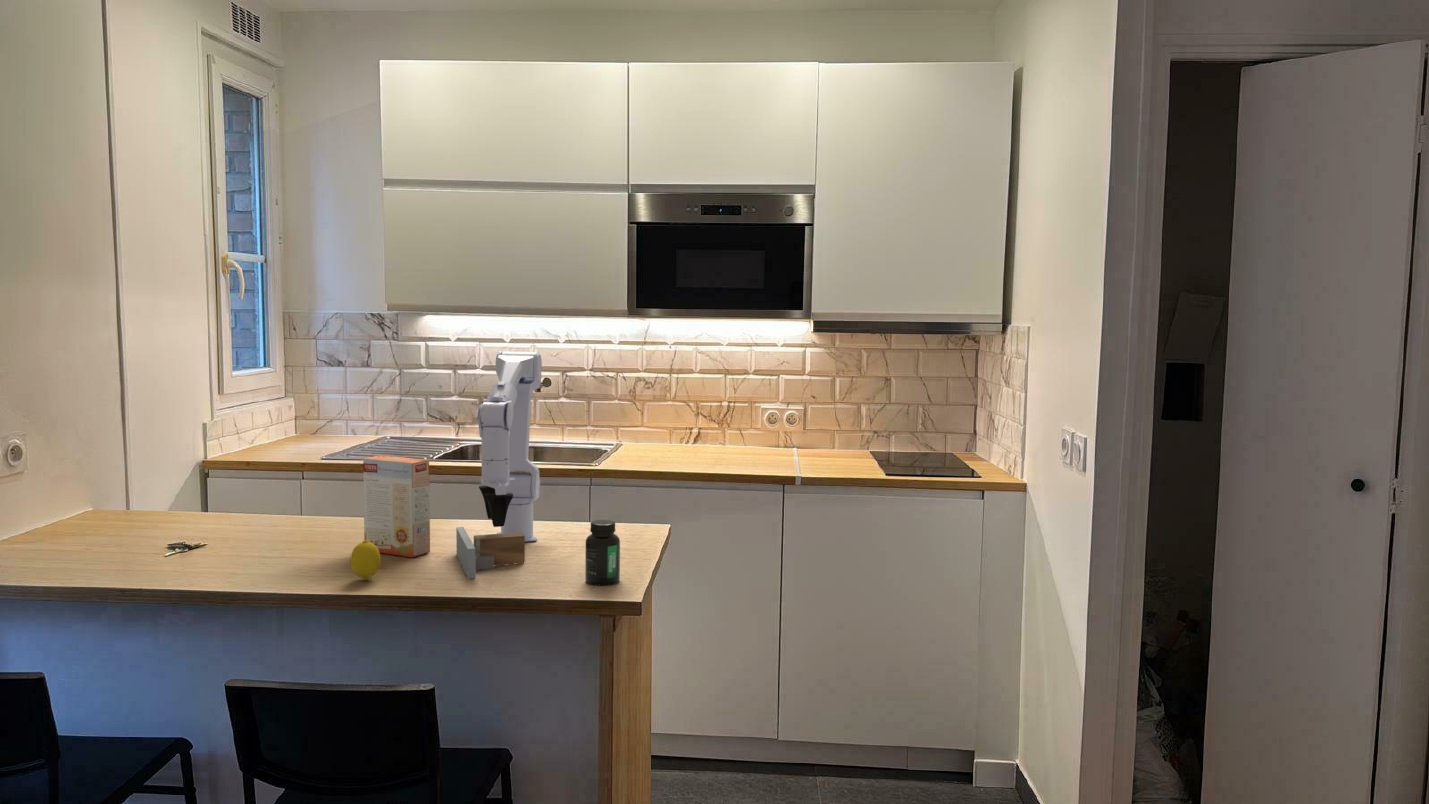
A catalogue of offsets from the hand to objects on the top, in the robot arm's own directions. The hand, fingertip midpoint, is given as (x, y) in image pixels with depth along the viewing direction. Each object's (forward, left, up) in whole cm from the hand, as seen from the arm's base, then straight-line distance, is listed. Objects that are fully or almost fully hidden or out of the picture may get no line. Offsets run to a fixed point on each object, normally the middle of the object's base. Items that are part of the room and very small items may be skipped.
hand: (495, 522), depth 199 cm
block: (0, +1, -9) cm, 9 cm away
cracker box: (-16, -19, -9) cm, 26 cm away
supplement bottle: (+20, +18, -9) cm, 28 cm away
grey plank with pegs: (0, -3, -9) cm, 9 cm away
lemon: (+5, -26, -9) cm, 28 cm away
